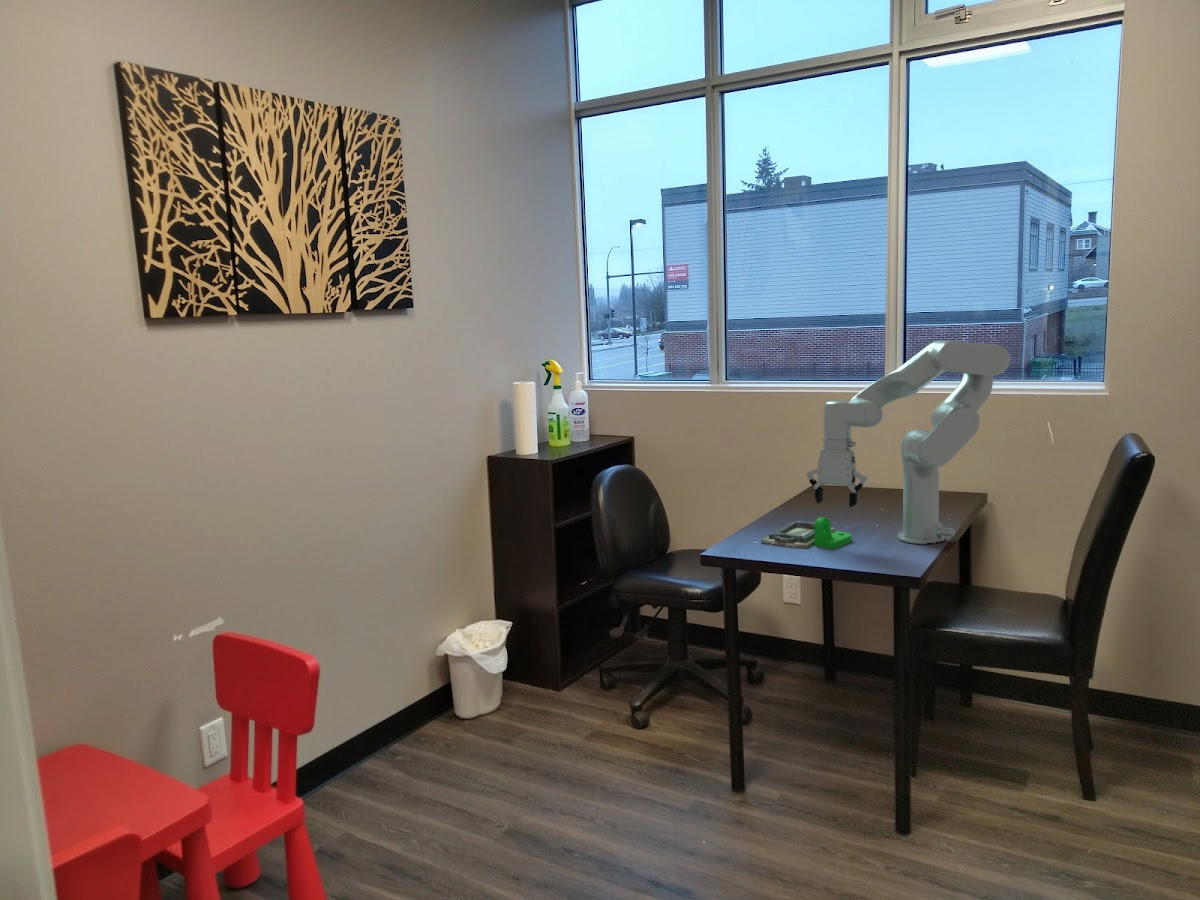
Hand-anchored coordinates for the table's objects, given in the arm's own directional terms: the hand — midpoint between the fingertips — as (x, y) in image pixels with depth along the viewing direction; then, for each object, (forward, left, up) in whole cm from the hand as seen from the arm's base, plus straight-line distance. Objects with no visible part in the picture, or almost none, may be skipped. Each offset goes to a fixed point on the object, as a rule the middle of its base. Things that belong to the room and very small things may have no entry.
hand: (835, 504), depth 245 cm
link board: (+12, -2, -12) cm, 17 cm away
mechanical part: (0, -1, -12) cm, 12 cm away
